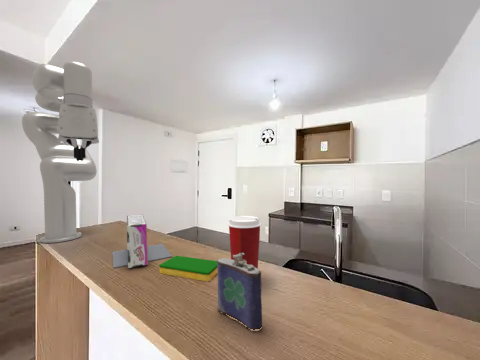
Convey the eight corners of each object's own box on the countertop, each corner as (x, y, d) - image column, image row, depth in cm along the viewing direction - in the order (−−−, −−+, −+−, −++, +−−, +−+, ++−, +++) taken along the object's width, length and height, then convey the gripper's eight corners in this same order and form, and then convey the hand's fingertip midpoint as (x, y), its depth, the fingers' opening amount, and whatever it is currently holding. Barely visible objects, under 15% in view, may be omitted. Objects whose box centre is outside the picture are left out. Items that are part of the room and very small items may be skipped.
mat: (112, 252, 69) (112, 251, 69) (162, 244, 77) (162, 243, 77) (113, 268, 57) (113, 267, 57) (172, 257, 65) (172, 256, 65)
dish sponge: (208, 283, 50) (208, 272, 49) (158, 274, 54) (158, 264, 54) (221, 270, 56) (221, 261, 56) (176, 263, 61) (176, 255, 61)
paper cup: (264, 273, 53) (263, 216, 53) (258, 289, 46) (257, 222, 45) (233, 270, 55) (232, 214, 55) (222, 285, 48) (222, 220, 48)
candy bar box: (145, 246, 73) (148, 265, 58) (128, 249, 71) (127, 269, 56) (143, 213, 73) (147, 223, 58) (126, 214, 70) (125, 226, 56)
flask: (214, 310, 39) (214, 249, 39) (226, 303, 41) (226, 245, 41) (255, 335, 33) (255, 263, 33) (267, 325, 35) (267, 258, 35)
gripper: (45, 96, 64) (47, 159, 65) (105, 104, 72) (106, 160, 72) (51, 103, 71) (52, 160, 71) (105, 110, 78) (106, 161, 79)
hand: (79, 160), depth 72 cm, fingers closed
